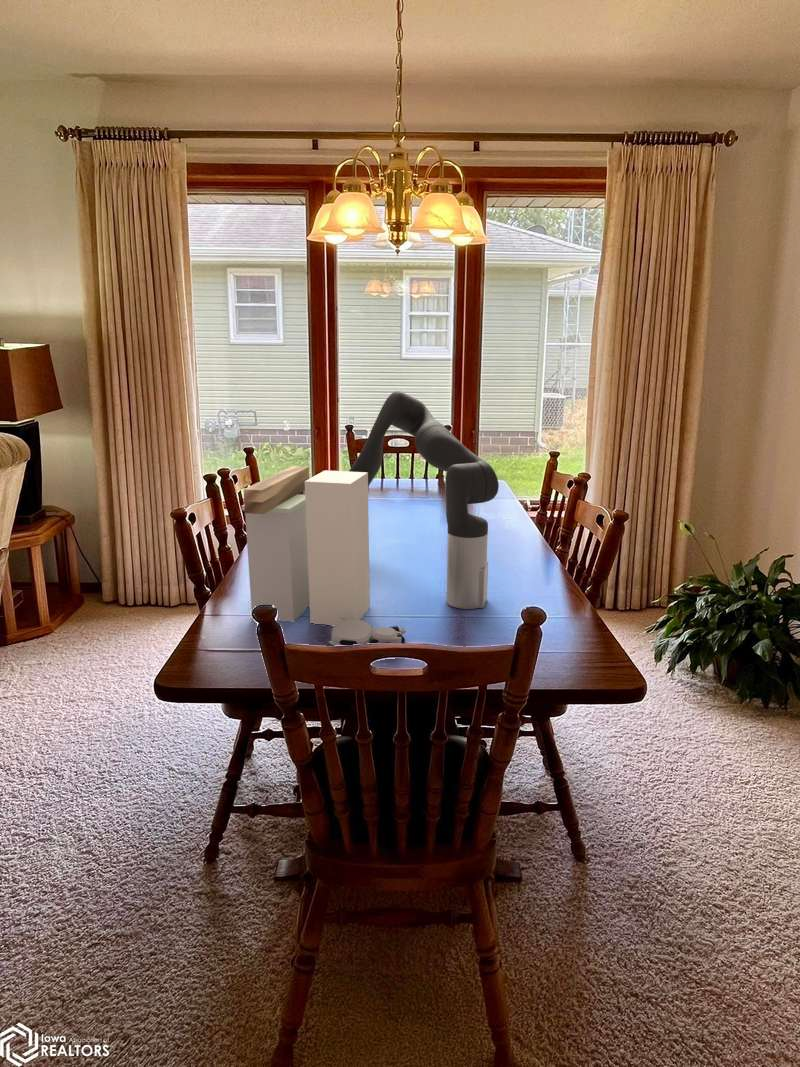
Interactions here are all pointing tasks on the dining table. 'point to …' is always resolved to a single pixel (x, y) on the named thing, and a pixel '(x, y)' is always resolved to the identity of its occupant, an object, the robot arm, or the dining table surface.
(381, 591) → the dining table surface
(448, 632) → the dining table surface
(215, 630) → the dining table surface
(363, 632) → the robot toy
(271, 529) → the low stand
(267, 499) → the wooden bar
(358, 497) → the tall stand
